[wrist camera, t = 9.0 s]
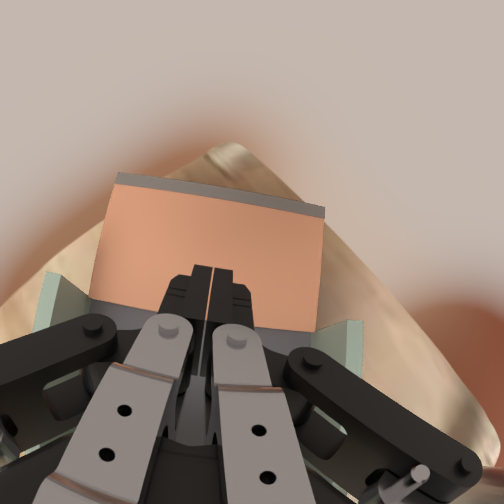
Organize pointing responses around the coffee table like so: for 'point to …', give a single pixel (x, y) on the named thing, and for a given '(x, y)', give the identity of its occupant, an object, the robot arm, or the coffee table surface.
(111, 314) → the truck bed
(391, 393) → the coffee table surface
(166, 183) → the panel
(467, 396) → the coffee table surface
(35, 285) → the coffee table surface
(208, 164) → the coffee table surface
